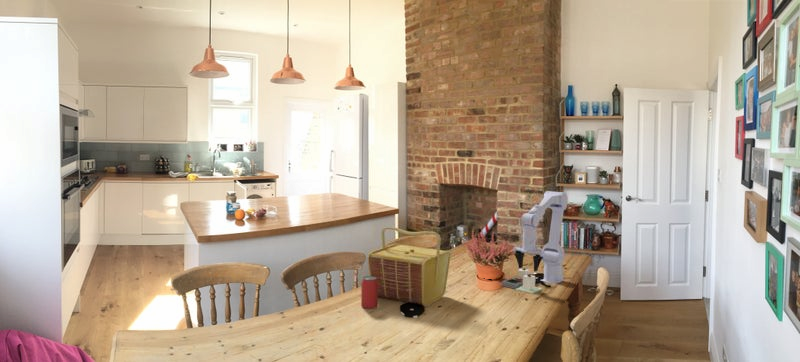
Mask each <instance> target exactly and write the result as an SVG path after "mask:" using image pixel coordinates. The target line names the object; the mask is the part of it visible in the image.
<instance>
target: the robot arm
mask: <svg viewBox="0 0 800 362" xmlns="http://www.w3.org/2000/svg"><path fill="white" fill-rule="evenodd" d="M568 199H569V197H568V195H567V192H564V191H562V192H561V191H552V190H551V191H550V190H546V191H545V192H544V194H543V199H542V200H541V202H539V204H535V205H534V206H533V207H532V208H531V209H529V211H528V212H525V213H523V214H521V215H522V216H521V218H520V225H521V230H522V247H520V246H519V247H518V246H515V247H513V252H514V253H513V255H514V256H515V259H516V261H517V264H518V269H522V268H524V267H523V266H524V256H525V254H529V255H532V261H533V271H534V272H537V271H538V270H539V266H540V264H541V263H542V262H543V264H544V265H543V266H544V268H543V270H544V271H543V272H544V273H543V279H540V281H542V282H546V283H551V284H554V285H555V284H559V283H561V282H564V281H565V279H563V272H564V269H563V267H564V266H563V265H562V264H563V262H564V261H565V249H564V248H563V247H562V246H561V244H560V240H561V234H562V233H561V232H562V225H563V219H564V211H565V210H567V205H568V201H569V200H568ZM548 208H549V209H551V212H552V213H551V221H550V222H551V223H550V228H549V229H550V230H549V236H548V242H547V243H546V244H544V245H543V246H542V250H539V249H536V244H537V242H536V241H537V239H536V237H537V236H536V235H537V227H538V226H539V223H540V220H541V218H542V217H543V216H544V215H545V213H546V210H547V209H548ZM533 255H534V256H533Z"/></svg>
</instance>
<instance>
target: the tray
mask: <svg viewBox="0 0 800 362" xmlns="http://www.w3.org/2000/svg"><path fill="white" fill-rule="evenodd" d="M542 290H543V288H542V287H537V286H535V290H533V291H527V290H523V286H520V287H518V288H516V289H515V291H519V292H523V293H527V294H531V295H533V294H535V293H538V292H541V291H542Z"/></svg>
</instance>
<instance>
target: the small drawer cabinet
mask: <svg viewBox="0 0 800 362" xmlns="http://www.w3.org/2000/svg"><path fill="white" fill-rule="evenodd" d="M501 281H502V286H501V287H505V288H509V289H514V290H516V288H518V287H520V286H523V279H522V278H519V277H518V275H515V276H512V277H509V278H507V279H504V280H501ZM536 281H537V278H536V277H535V283H536Z"/></svg>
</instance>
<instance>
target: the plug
mask: <svg viewBox="0 0 800 362" xmlns="http://www.w3.org/2000/svg"><path fill="white" fill-rule="evenodd" d="M535 278H536V275H532V274H531V273H530V274H527V275H525V276H523V290H527V291H533V290H535V287H536V282H535Z"/></svg>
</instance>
